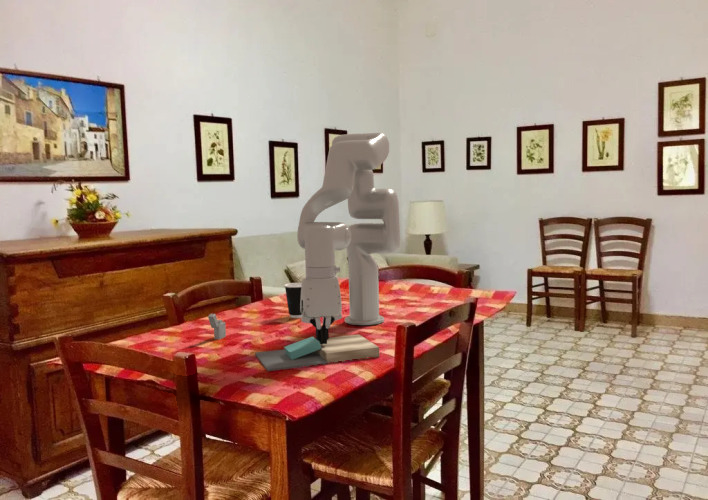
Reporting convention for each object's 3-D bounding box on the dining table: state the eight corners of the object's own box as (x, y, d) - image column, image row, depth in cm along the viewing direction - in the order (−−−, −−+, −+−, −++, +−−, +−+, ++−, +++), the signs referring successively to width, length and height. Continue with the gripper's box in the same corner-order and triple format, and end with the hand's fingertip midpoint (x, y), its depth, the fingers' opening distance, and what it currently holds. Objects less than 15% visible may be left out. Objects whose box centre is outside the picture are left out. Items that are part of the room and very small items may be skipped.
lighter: (220, 335, 183) (219, 309, 182) (226, 336, 183) (224, 309, 182) (209, 341, 176) (207, 314, 175) (214, 342, 176) (213, 314, 175)
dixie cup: (313, 315, 209) (312, 283, 208) (300, 320, 202) (299, 287, 201) (294, 313, 213) (292, 282, 212) (280, 318, 206) (279, 285, 205)
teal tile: (286, 353, 160) (284, 346, 159) (314, 343, 162) (312, 336, 162) (291, 359, 154) (289, 352, 154) (321, 348, 156) (319, 341, 156)
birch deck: (310, 348, 166) (310, 339, 166) (359, 343, 171) (359, 334, 170) (327, 363, 152) (326, 353, 152) (379, 356, 157) (379, 347, 156)
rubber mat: (255, 354, 162) (255, 352, 161) (310, 348, 167) (310, 346, 166) (267, 371, 147) (267, 369, 146) (327, 363, 152) (327, 361, 151)
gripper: (343, 269, 163) (344, 336, 165) (288, 273, 158) (290, 342, 160) (352, 272, 156) (354, 343, 158) (295, 276, 151) (298, 349, 153)
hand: (322, 342), depth 159 cm, fingers closed
